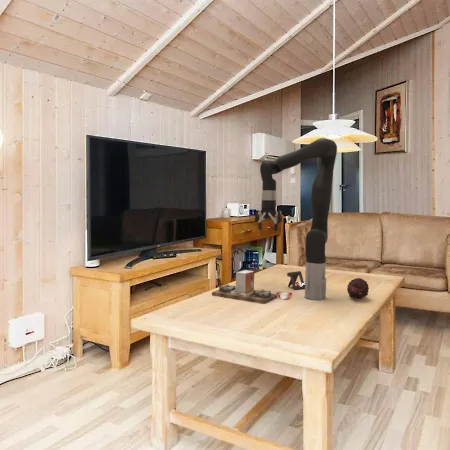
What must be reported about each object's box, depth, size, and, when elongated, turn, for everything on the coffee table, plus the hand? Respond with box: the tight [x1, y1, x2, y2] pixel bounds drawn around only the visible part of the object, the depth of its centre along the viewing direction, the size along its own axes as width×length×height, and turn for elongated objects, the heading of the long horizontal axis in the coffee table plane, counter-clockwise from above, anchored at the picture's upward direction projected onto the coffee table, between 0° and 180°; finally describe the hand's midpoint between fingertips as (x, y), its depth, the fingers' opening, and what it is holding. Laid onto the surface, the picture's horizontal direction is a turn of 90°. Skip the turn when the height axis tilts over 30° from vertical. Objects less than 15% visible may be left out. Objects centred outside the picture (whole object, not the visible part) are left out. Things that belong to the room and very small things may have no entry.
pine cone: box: [346, 277, 370, 300], centre depth 204 cm, size 18×10×10 cm, turn 161°
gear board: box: [211, 283, 278, 305], centre depth 204 cm, size 28×14×4 cm, turn 60°
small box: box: [235, 269, 255, 294], centre depth 203 cm, size 8×6×10 cm
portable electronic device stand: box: [286, 270, 305, 291], centre depth 224 cm, size 9×8×8 cm
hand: (268, 230), depth 221 cm, fingers open, 8 cm apart
